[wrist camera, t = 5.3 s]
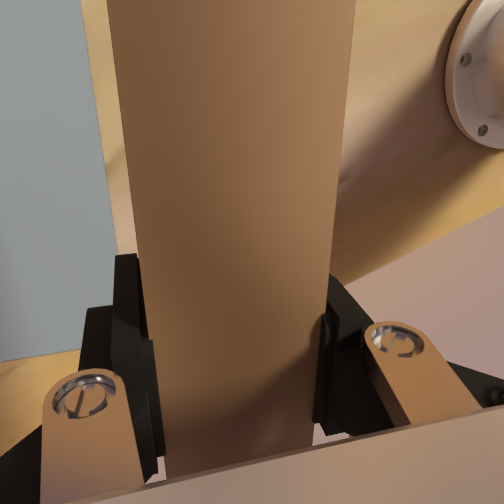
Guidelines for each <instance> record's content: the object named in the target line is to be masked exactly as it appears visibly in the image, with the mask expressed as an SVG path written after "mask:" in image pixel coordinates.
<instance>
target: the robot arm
mask: <svg viewBox="0 0 504 504" xmlns="http://www.w3.org/2000/svg"><path fill="white" fill-rule="evenodd" d="M445 90H446V100H447V104H448V107H449V111H450V114H451V116H452V118H453V120H454V122H455V124H456V126H457V127H458V128H459V129H460V130H461V132H462V133H463V134H464V135H465V136H466V137H468V138H469V139H471V140H472V141H474V142H476V143H479V144H482V145H484V146H487V147H492V148H498V149H504V0H473V1H472V2H471V3H470V5H469V6H468V8H467V10H466V12H465V13H464V15H463V17H462V19H461V21H460V23H459V25H458V27H457V29H456V32H455V35H454V37H453V40H452V43H451V46H450V50H449V54H448V59H447V63H446V75H445ZM312 422H313V423H315V424H316V423H320V425H321V427H322V429H323V431H324V433H325V435H326V436H329V435H334V434H338V433H343V432H345V433H347V434H349V438H347V439H342V440H338V441H334V442H329V443H324V444H320V445H315V446H311V447H307V448H302V449H298V450H293V451H289V452H284V453H280V454H276V455H271V456H267V457H262V458H258V459H253V460H249V461H245V462H240V463H236V464H232V465H227V466H223V467H219V468H214V469H210V470H206V471H201V472H197V473H193V474H188V475H184V476H180V477H175V478H171V479H167V480H162V481H158V482H154V483H149V484H145V483H146V482H147V481H148V480H149V479H150V477H151V476H152V475H153V474H157V473H158V463H157V457H161V456H166V446H165V438H164V429H163V421H162V413H161V405H160V396H159V388H158V380H157V372H156V363H155V355H154V347H153V339H152V340H149V335H148V327H147V319H146V311H145V303H144V295H143V287H142V279H141V271H140V263H139V258H138V259H137V253H133V254H124V255H115V265H114V287H113V305H106V306H99V307H91V308H87V311H86V318H85V325H84V332H83V339H82V347H81V354H80V361H79V368H78V372H76V373H73V374H70V375H68V376H67V377H65V378H63V379H61V380H60V381H59V382H57V383H56V384H55V385H54V386H53V387H52V388H51V389H50V390H49V392H48V393H47V395H46V396H45V399H44V403H43V416H42V425H40V426H39V427H38V428H37V429H35V430H34V431H33V432H32V433H30V434H29V435H28V436H26V437H25V438H24V439H23V440H21V441H20V442H19V443H18V444H16V445H15V446H14V447H13V448H11V449H10V450H9V451H7V452H6V453H5V454H4V455H2V456H1V457H0V504H504V380H503V379H500V378H497V377H494V376H491V375H487V374H484V373H481V372H478V371H475V370H472V369H469V368H466V367H463V366H460V365H457V364H454V363H451V362H448V361H446V360H445V359H444V358H443V357H442V355H441V354H440V353H439V351H438V350H437V349H436V347H435V346H434V345H433V344H432V343H431V341H430V340H429V339H428V337H427V336H426V335H424V334H423V333H422V332H421V331H419V330H417V329H416V328H414V327H412V326H409V325H407V324H404V323H399V322H389V321H387V322H386V321H385V322H379V323H374V322H373V321H372V319H371V318H370V317H369V316H368V315H367V314H366V313H365V311H364V310H363V309H362V308H361V307H360V305H359V304H358V303H357V302H356V301H355V299H354V298H353V297H352V296H351V295H350V294H349V292H348V291H347V290H346V289H345V288H344V287H343V285H342V284H341V283H340V282H339V281H338V280H337V279H336V278H335V277H334V276H332V275H331V274H330V273H329V279H328V289H327V299H326V309H325V313H324V314H322V320H321V330H320V341H319V351H318V362H317V373H316V383H315V394H314V404H313V415H312ZM144 484H145V485H144Z"/></svg>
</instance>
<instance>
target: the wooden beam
mask: <svg viewBox="0 0 504 504" xmlns="http://www.w3.org/2000/svg"><path fill="white" fill-rule="evenodd" d="M355 4H356V0H107V8H108V16H109V24H110V32H111V40H112V48H113V56H114V64H115V72H116V80H117V88H118V96H119V104H120V112H121V120H122V128H123V136H124V144H125V152H126V160H127V167H128V175H129V183H130V191H131V199H132V207H133V215H134V223H135V231H136V239H137V247H138V255H139V263H140V271H141V279H142V287H143V295H144V303H145V311H146V319H147V327H148V335H149V340H152V339H153V347H154V355H155V363H156V372H157V380H158V388H159V396H160V405H161V413H162V421H163V429H164V438H165V446H166V456H164V462H165V470H166V477H167V479H171V478H175V477H180V476H184V475H188V474H193V473H197V472H201V471H206V470H210V469H214V468H219V467H223V466H227V465H232V464H236V463H240V462H245V461H249V460H253V459H258V458H262V457H267V456H271V455H276V454H280V453H284V452H289V451H293V450H298V449H302V448H307V447H311V446H312V442H313V431H314V423H313V422H312V415H313V404H314V394H315V383H316V373H317V362H318V351H319V341H320V330H321V320H322V314H324V313H325V309H326V299H327V289H328V279H329V269H330V258H331V248H332V238H333V228H334V218H335V207H336V197H337V187H338V177H339V167H340V157H341V146H342V136H343V126H344V116H345V106H346V95H347V85H348V75H349V65H350V55H351V45H352V34H353V24H354V14H355Z"/></svg>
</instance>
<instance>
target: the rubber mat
mask: <svg viewBox="0 0 504 504" xmlns="http://www.w3.org/2000/svg"><path fill="white" fill-rule="evenodd" d="M115 255H118V251H117V244H116V238H115V231H114V224H113V218H112V211H111V204H110V198H109V191H108V184H107V178H106V171H105V164H104V157H103V151H102V144H101V137H100V131H99V124H98V117H97V111H96V104H95V97H94V91H93V84H92V77H91V70H90V64H89V57H88V50H87V44H86V37H85V30H84V24H83V17H82V10H81V4H80V0H0V362H2V361H8V360H14V359H21V358H27V357H33V356H39V355H46V354H52V353H58V352H64V351H71V350H77V349H81V347H82V339H83V332H84V325H85V318H86V311H87V308H91V307H99V306H106V305H113V287H114V265H115Z"/></svg>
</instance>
